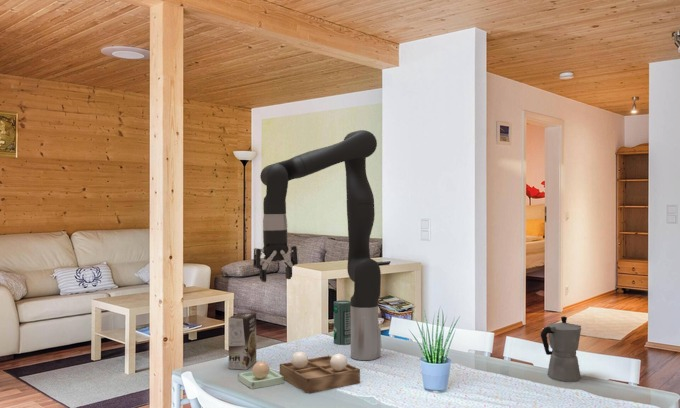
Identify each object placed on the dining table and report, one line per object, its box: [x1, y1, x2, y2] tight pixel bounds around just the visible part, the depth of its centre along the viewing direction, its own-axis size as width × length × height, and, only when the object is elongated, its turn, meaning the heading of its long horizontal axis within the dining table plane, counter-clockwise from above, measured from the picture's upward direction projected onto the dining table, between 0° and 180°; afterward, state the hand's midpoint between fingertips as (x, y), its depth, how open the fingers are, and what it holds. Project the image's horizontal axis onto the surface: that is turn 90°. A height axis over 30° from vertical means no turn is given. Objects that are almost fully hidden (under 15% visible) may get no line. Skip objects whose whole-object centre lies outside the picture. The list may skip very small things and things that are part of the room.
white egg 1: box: [290, 351, 309, 369], centre depth 176 cm, size 5×5×5 cm
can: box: [333, 299, 351, 346], centre depth 218 cm, size 6×6×15 cm
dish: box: [237, 368, 285, 390], centre depth 173 cm, size 10×10×2 cm
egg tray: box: [279, 355, 361, 394], centre depth 175 cm, size 17×17×4 cm
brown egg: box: [252, 360, 271, 379], centre depth 173 cm, size 5×5×5 cm
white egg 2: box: [330, 353, 348, 371], centre depth 173 cm, size 5×5×5 cm
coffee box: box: [227, 312, 257, 371], centre depth 190 cm, size 9×6×16 cm
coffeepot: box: [540, 315, 582, 383], centre depth 176 cm, size 15×9×18 cm, turn 116°
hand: (276, 280), depth 186 cm, fingers open, 8 cm apart
